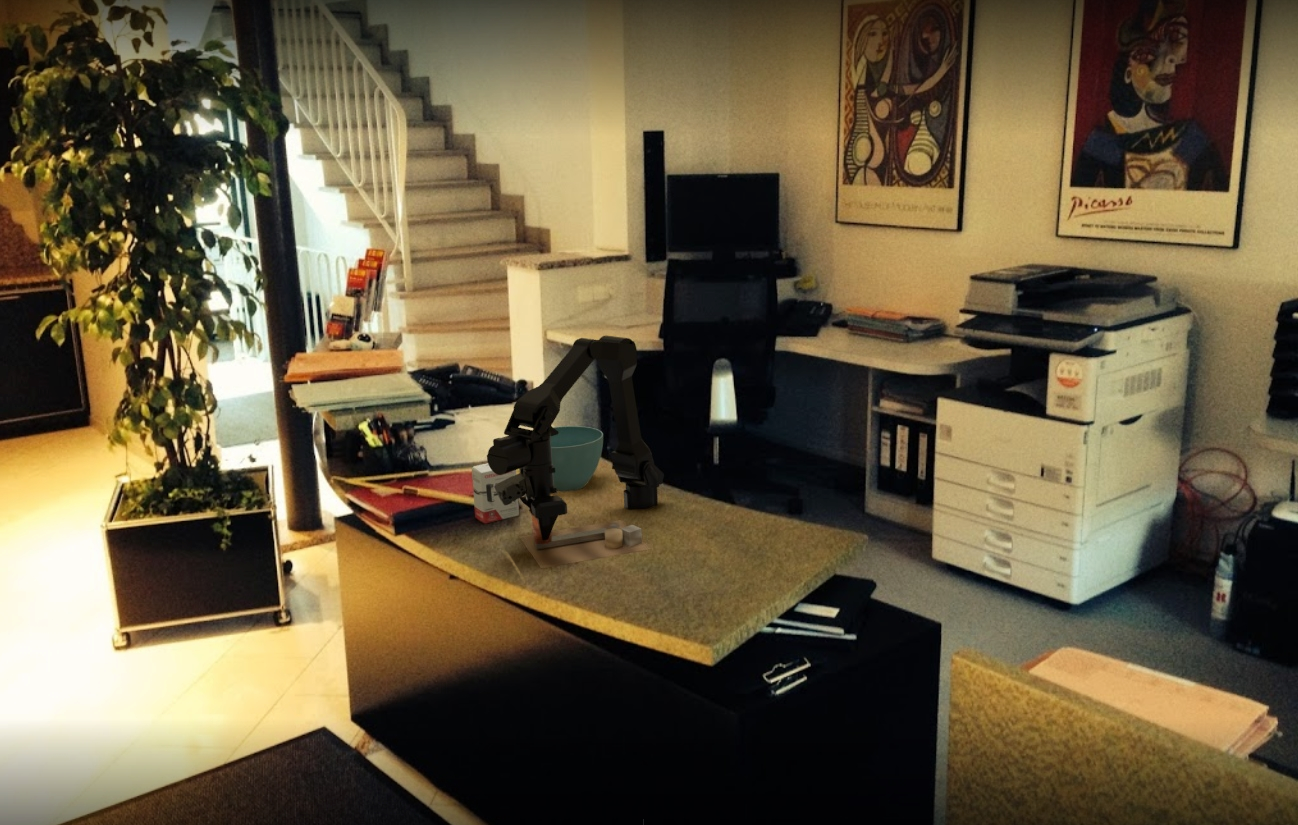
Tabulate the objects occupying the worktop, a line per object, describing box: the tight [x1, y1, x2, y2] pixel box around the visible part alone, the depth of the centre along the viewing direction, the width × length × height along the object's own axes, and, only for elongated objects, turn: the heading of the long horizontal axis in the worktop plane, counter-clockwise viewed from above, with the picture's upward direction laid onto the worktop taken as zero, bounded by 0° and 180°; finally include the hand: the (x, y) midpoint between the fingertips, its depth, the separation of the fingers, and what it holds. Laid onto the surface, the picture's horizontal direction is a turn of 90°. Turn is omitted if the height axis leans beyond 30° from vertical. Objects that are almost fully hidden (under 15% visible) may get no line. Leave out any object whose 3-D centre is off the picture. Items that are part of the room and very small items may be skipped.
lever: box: [531, 515, 607, 549], centre depth 221 cm, size 15×4×8 cm, turn 109°
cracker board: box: [519, 519, 651, 569], centre depth 222 cm, size 22×18×4 cm
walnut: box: [605, 528, 623, 549], centre depth 219 cm, size 4×4×3 cm
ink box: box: [471, 462, 520, 524], centre depth 241 cm, size 8×5×12 cm, turn 123°
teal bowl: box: [550, 425, 604, 493], centre depth 259 cm, size 18×18×12 cm
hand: (542, 536), depth 220 cm, fingers closed on lever, 4 cm apart
